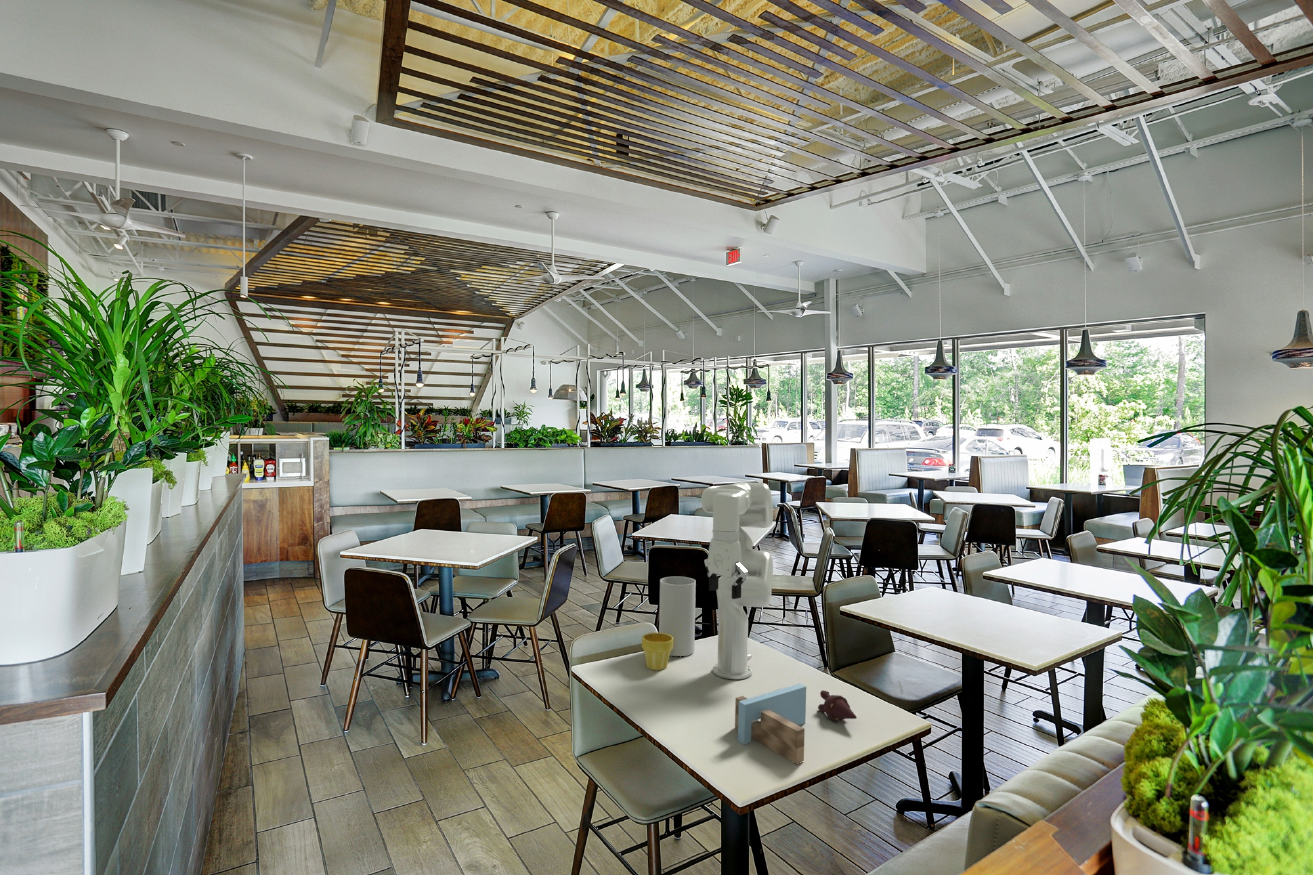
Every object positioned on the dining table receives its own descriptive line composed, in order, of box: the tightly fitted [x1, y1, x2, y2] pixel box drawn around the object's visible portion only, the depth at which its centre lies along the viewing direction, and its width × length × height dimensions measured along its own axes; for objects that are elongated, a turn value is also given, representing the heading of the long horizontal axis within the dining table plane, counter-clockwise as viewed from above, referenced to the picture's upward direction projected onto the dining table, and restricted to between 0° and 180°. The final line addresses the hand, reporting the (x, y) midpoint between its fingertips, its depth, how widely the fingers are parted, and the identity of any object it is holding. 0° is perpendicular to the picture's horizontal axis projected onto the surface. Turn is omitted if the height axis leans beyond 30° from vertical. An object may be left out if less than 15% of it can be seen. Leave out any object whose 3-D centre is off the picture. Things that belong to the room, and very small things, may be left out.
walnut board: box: [734, 695, 805, 765], centre depth 163 cm, size 22×2×8 cm, turn 34°
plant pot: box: [641, 632, 673, 671], centre depth 214 cm, size 10×10×10 cm
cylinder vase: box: [658, 576, 697, 658], centre depth 228 cm, size 12×12×25 cm
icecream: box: [817, 689, 857, 723], centre depth 178 cm, size 7×7×15 cm
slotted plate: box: [737, 683, 807, 745], centre depth 170 cm, size 22×2×10 cm, turn 124°
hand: (724, 594), depth 188 cm, fingers open, 9 cm apart
